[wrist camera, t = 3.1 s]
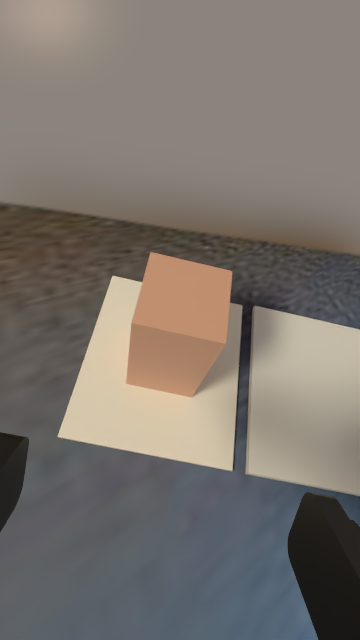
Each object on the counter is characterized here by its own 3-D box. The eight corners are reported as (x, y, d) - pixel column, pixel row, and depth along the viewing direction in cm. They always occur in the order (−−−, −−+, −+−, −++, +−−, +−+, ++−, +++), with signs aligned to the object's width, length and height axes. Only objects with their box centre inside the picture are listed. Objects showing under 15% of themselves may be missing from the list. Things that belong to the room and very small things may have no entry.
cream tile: (241, 306, 30) (242, 305, 30) (231, 471, 23) (232, 471, 22) (112, 277, 29) (112, 275, 29) (58, 437, 22) (57, 436, 22)
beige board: (374, 337, 31) (378, 334, 30) (406, 505, 23) (412, 505, 23) (252, 309, 30) (254, 305, 30) (245, 473, 23) (248, 472, 22)
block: (199, 339, 27) (232, 271, 20) (191, 397, 25) (226, 343, 17) (140, 326, 27) (150, 252, 19) (125, 383, 24) (131, 322, 17)
